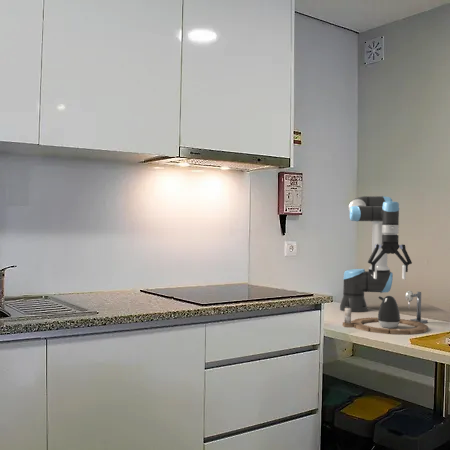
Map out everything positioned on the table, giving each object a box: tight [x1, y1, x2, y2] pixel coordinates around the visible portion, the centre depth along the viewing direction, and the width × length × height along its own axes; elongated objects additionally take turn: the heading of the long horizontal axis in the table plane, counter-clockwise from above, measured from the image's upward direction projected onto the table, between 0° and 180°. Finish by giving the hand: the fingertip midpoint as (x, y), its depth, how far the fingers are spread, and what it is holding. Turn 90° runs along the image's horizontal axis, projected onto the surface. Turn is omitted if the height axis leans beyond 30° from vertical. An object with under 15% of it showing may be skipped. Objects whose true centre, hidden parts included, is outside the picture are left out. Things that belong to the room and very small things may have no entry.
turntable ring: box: [342, 308, 429, 335], centre depth 262 cm, size 34×38×8 cm
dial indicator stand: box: [404, 290, 428, 324], centre depth 274 cm, size 14×6×16 cm, turn 126°
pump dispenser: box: [377, 295, 401, 329], centre depth 262 cm, size 10×10×15 cm
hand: (389, 278), depth 262 cm, fingers open, 13 cm apart
